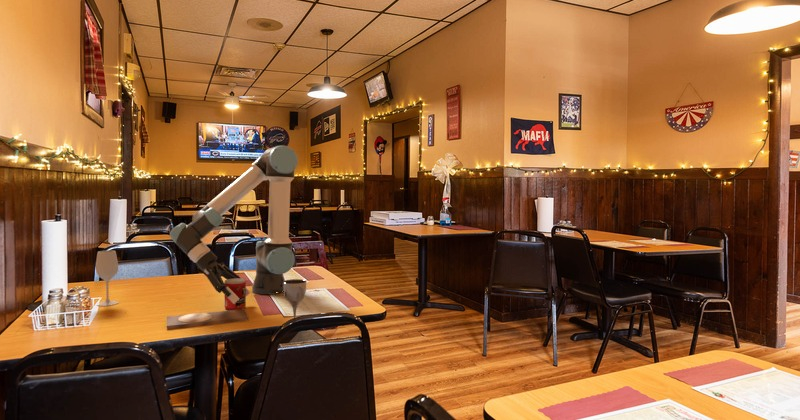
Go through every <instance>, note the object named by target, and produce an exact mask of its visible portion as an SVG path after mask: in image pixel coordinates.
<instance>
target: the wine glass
mask: <svg viewBox="0 0 800 420" xmlns="http://www.w3.org/2000/svg"><path fill="white" fill-rule="evenodd" d="M283 291H284V292H283V295H284V298H285V300H286V301H287V302H288V303H289V304H290V306H291V307H292V312H293V319H294V318H295V317H296V318H297V308H298V306H299V305H300V303H301V302H302V301H303V300H304V299H305V296H306V292H307V280H306V279H302V278H300V279H299V278H291V279H285V281H283Z"/></svg>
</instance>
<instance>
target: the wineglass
mask: <svg viewBox="0 0 800 420" xmlns="http://www.w3.org/2000/svg"><path fill="white" fill-rule="evenodd" d="M117 256H118V255H117V252H116V250H111V249H110V250H109V249H108V250H99V251H97V254H96V260H95V273H96V274H97V276H98V277H99V279H100V278H101V279H102V280H103V281H105V288H106V290H105V291H106V294H105V295H106V299H105V300H104V301H102V302H99V306H98V307H110V306H115V304H116V305H117V304H119V301H116V300H110V298H109V297H110V296H109V295H110V294H109V292H110V291H109V283H110V280H112V279H113V278H114V277H115V276H116V275H117V274H118V271H119V262H118V257H117Z"/></svg>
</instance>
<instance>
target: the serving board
mask: <svg viewBox="0 0 800 420" xmlns="http://www.w3.org/2000/svg"><path fill="white" fill-rule="evenodd" d="M246 320H248V321H249V316H248V314H247V313H246V311H245V308H244V309H239V310H222V311H221V310H219V311H211V312H198V313H197V312H196V313H189V314H181V315H180V314H179V315H171V316H170V315H169V316H166V330H174V329H176V330H177V329H184V328H192V327H194V328H195V327H203V326H211V325H219V324H220V325H221V324H222V325H223V324H230V323H238V322H239V321H240V322H247V321H246Z"/></svg>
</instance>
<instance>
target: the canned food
mask: <svg viewBox="0 0 800 420" xmlns="http://www.w3.org/2000/svg"><path fill="white" fill-rule="evenodd" d="M240 278H241V277H240ZM240 278H234V279H225V280H224V281H223V282H224V284H225V286H226V287H229V288H230V289H231V290H232V291H233V293H234V294H235V295H236V296H237V297H238V298H239V300H238V301H237V302H236V303H235V304H233V303H232V302H231V301H230V300H229V299H228V298H227V297H226V295H225V294H224V293H223V294H224V295H223V296H224V309H225V311H229V310H239V309H244V310H245V308H246V303H247V302H246V299H247V296H246V288H247V286H246V283H247V282H246V279H244V278H241V279H240Z"/></svg>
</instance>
